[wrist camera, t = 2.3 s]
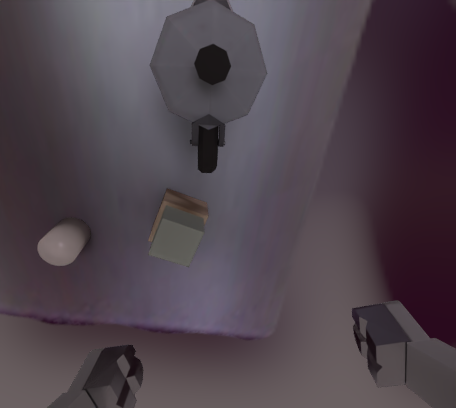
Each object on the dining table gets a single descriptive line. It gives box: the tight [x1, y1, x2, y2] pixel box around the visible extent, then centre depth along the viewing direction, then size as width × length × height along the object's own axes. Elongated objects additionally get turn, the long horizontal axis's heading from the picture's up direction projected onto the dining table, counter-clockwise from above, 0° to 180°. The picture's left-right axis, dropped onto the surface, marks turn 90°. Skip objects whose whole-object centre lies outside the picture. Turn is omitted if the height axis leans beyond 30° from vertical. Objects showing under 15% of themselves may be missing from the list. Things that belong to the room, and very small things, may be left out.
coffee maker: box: [150, 0, 267, 173], centre depth 26 cm, size 15×9×18 cm, turn 177°
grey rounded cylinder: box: [38, 217, 91, 266], centre depth 37 cm, size 5×5×5 cm
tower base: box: [148, 188, 208, 242], centre depth 38 cm, size 6×6×5 cm
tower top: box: [148, 205, 205, 267], centre depth 34 cm, size 5×5×4 cm
